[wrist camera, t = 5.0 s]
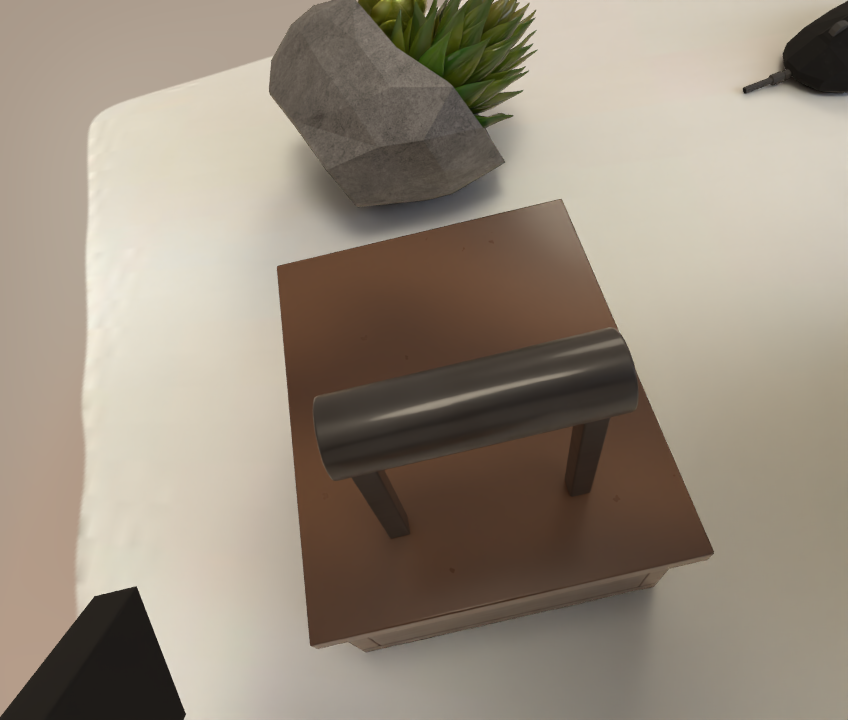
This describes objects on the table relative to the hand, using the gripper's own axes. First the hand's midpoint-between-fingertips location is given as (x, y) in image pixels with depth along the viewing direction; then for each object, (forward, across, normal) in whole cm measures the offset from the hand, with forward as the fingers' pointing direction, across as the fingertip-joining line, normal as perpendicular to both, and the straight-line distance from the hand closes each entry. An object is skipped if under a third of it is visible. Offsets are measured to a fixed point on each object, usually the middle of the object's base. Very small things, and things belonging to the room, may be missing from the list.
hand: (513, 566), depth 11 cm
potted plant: (+34, -2, -9) cm, 35 cm away
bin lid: (+13, 0, +1) cm, 13 cm away
